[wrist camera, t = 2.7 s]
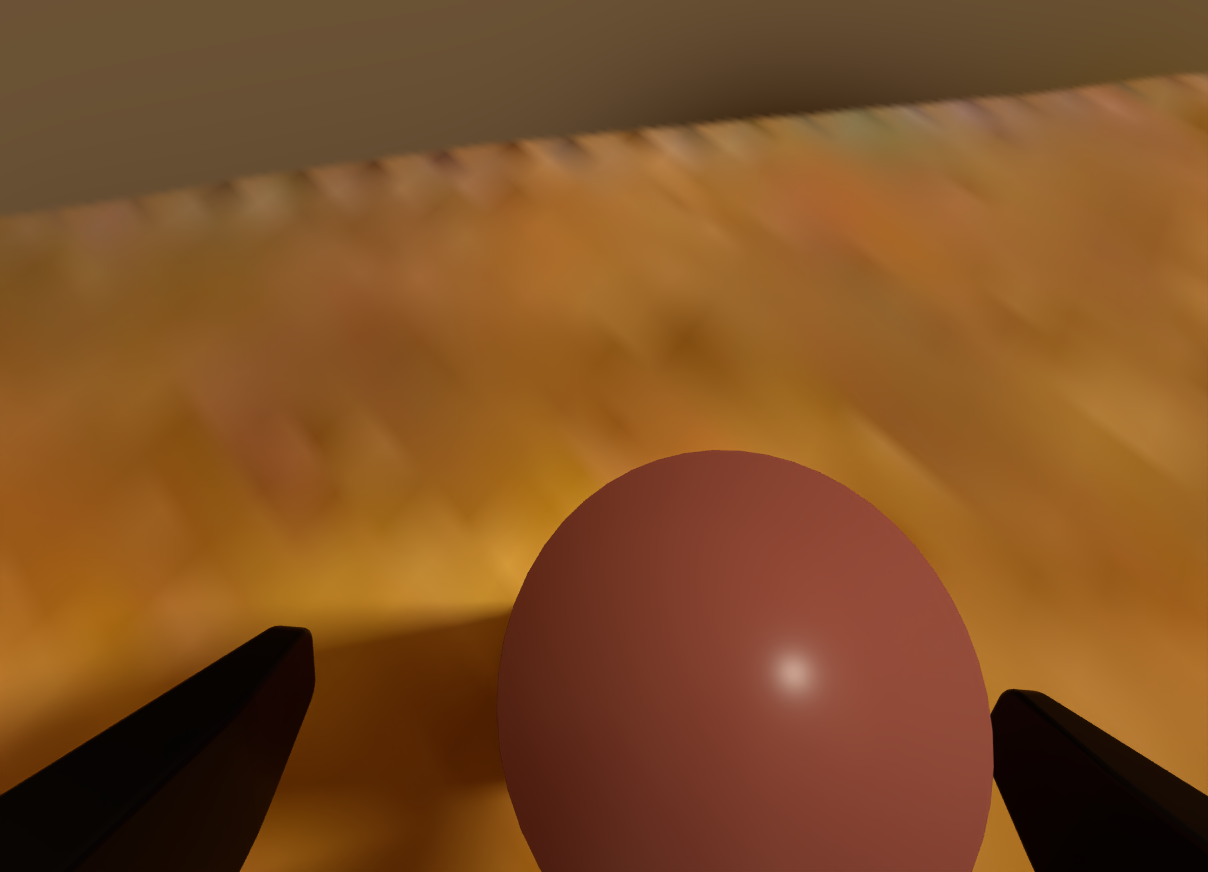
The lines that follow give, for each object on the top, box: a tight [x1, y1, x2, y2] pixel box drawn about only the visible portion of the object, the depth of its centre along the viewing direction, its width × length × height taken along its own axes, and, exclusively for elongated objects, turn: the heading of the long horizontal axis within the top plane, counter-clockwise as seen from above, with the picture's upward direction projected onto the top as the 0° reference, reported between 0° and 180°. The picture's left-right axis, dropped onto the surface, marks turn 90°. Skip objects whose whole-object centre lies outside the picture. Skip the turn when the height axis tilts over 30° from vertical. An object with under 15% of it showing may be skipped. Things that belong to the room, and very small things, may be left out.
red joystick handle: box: [497, 450, 994, 872], centre depth 10 cm, size 5×5×11 cm
